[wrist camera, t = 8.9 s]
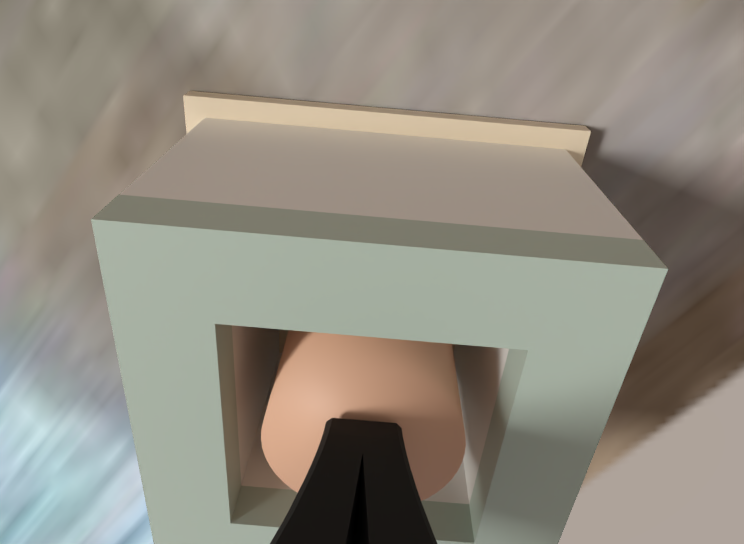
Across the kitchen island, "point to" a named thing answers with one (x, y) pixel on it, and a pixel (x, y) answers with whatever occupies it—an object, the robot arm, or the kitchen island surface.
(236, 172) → the socket
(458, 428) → the peg
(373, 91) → the kitchen island surface
